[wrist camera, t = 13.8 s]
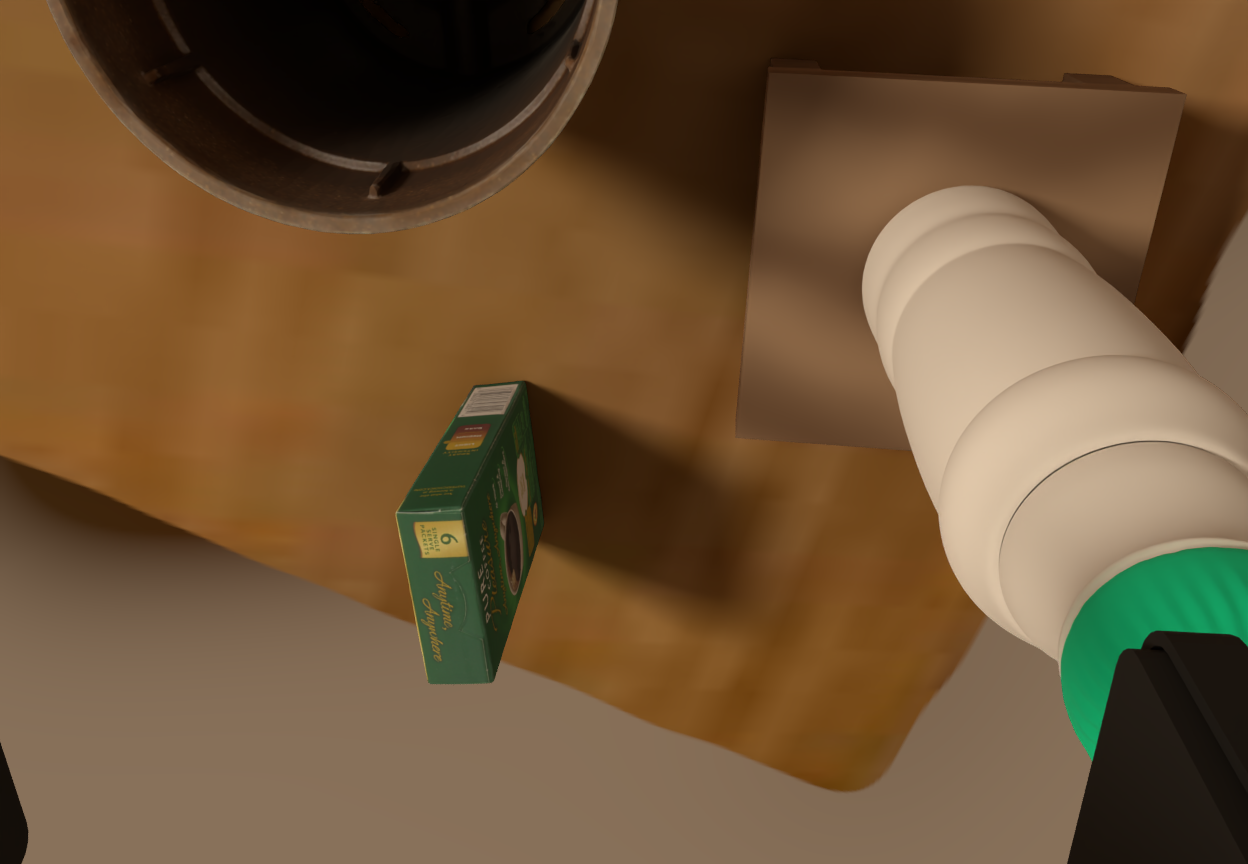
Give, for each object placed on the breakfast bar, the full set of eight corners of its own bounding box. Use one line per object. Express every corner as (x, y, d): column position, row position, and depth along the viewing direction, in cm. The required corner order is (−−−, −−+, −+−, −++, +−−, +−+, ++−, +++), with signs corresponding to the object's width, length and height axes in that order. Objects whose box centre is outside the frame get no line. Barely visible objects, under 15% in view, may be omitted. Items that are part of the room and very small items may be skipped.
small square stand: (764, 50, 44) (769, 72, 38) (1120, 68, 43) (1186, 94, 37) (735, 371, 50) (735, 437, 44) (1047, 393, 49) (1093, 464, 43)
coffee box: (467, 375, 51) (388, 513, 40) (527, 373, 51) (466, 510, 39) (490, 524, 55) (424, 692, 43) (547, 523, 54) (496, 691, 43)
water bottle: (832, 337, 42) (950, 834, 19) (901, 156, 39) (1139, 494, 16) (1008, 388, 42) (1331, 938, 19) (1091, 212, 39) (1587, 623, 16)
